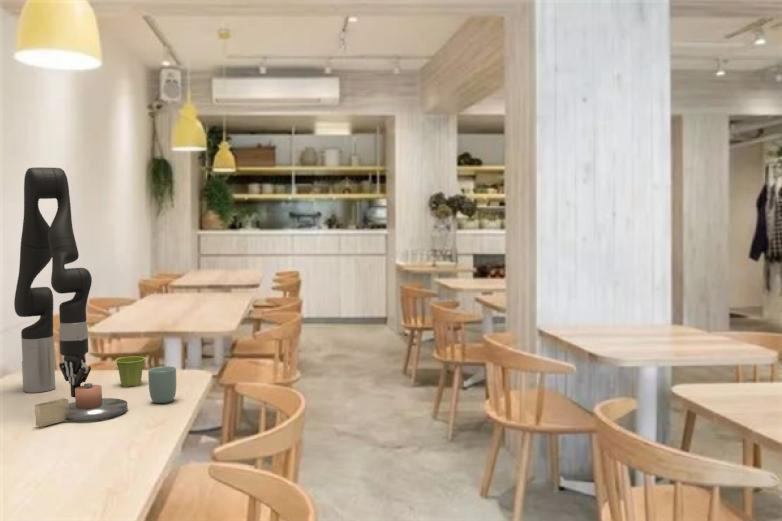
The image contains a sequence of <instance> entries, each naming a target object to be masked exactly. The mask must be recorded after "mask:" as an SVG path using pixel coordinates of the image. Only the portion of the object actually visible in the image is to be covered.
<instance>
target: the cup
mask: <svg viewBox="0 0 782 521" xmlns="http://www.w3.org/2000/svg"><path fill="white" fill-rule="evenodd" d="M147 376H148V390H149V397H150V399H151V401H152V402H153V403H156V404H167V403H170V402H172V401H173V400H174V398H175V397H176V394H177V368H176V367H175V366H170V365H168V366H167V365H166V366H165V365H164V366H163V365H162V366H155V367H152V368H150V369H148V375H147Z"/></svg>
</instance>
